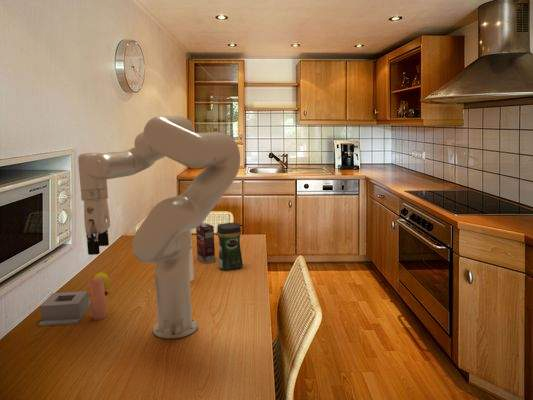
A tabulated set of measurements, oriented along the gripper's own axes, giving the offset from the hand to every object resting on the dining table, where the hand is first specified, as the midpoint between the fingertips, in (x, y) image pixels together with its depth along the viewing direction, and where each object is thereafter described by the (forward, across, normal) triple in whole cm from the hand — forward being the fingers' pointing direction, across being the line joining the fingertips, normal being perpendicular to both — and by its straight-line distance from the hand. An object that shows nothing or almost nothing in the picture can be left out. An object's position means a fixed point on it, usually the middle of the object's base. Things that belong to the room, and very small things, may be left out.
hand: (98, 249), depth 142 cm
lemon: (+21, +19, +6) cm, 29 cm away
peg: (+21, -2, +1) cm, 21 cm away
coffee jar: (+21, +44, -38) cm, 62 cm away
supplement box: (+21, +55, -28) cm, 65 cm away
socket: (+21, +2, +12) cm, 24 cm away
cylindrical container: (+21, +31, -21) cm, 43 cm away
